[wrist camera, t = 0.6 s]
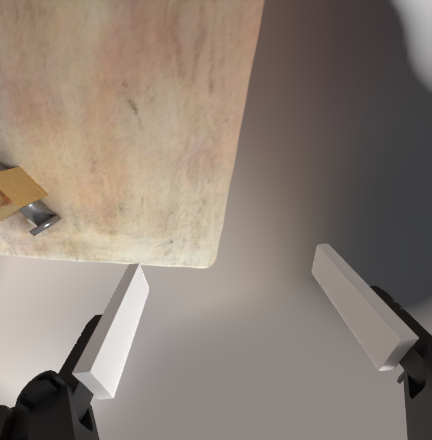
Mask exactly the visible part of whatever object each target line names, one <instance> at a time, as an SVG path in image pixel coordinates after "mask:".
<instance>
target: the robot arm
mask: <svg viewBox="0 0 432 440" xmlns="http://www.w3.org/2000/svg"><path fill="white" fill-rule="evenodd" d="M311 273H312V274H313V275H314V277H315V278H316V279H317V281H318V283H319V284H320V286H321V287H322V289H323V290H324V291H325V293H326V294H327V296H328V297H329V299H330V300H331V302H332V303H333V305H334V306H335V308H336V309H337V310H338V312H339V313H340V315H341V316H342V318H343V319H344V321H345V322H346V324H347V325H348V327H349V328H350V329H351V331H352V332H353V334H354V335H355V337H356V338H357V340H358V341H359V343H360V344H361V346H362V347H363V348H364V350H365V351H366V353H367V354H368V356H369V357H370V359H371V360H372V362H373V363H374V364H375V366H376V368H377V369H378V370H379V371H383V370H392V369H395V368H396V367H397V365H398V364H399V363H400V365H401V366H402V367H403V368H404V372H403V373H402V374H401V375H400V376H399V378H398V380H397V382H398V383H401V382H402V381H403V380H404V392H405V408H406V422H407V436H408V440H432V336H431V335H430V334H429V333H428V332H427V331H426V330H425V329H424V328H423V327H422V326H421V325H420V324H419V323H418V322H417V321H416V320H415V319H414V318H413V317H412V316H411V315H410V314H408V312H406V311H405V310H403V308H402V307H401V306H400V305H399V304H398V303H396V301H395V300H394V299H393V298H392V297H391V296H390V295H389V294H388V293H387V292H385V291H384V290H382V289H380V288H379V287H377V286H368V285H367V284H366V283H365V282H364V281H363V280H362V279H361V278H360V276H359V275H357V274H356V272H355V271H353V269H352V268H351V267H350V266H349V265H348V264H347V263H346V262H345V261H344V260H343V259H342V258H341V257H340V256H339V255H338V254H337V253H336V252H335V251H334V250H333V249H332V248H331V247H330V246H329V245H328V244H320V245H317V248H316V253H315V257H314V262H313V267H312V271H311ZM148 292H149V287H148V284H147V281H146V279H145V276H144V274H143V271H142V269H141V266H140V263H138V264H129V266H128V268H127V269H126V271H125V273H124V275H123V277H122V279H121V281H120V283H119V285H118V287H117V288H116V291H115V292H114V294H113V296H112V298H111V300H110V302H109V304H108V306H107V308H106V310H105V311H104V313H103V315H95V316H94V317H93V318H92V319H91V320H90V321H89V322H88V323H87V325H86V326H85V328H84V330H83V332H82V333H81V336H80V337H79V339H78V340H77V343H76V344H75V346H74V347H73V349H72V351H71V352H70V354H69V356H68V358H67V359H66V361H65V363H64V365H63V366H62V368H61V370H60V372H59V373H58V374H57V373H56V372H55V371H52V370H49V371H45V372H43V373H41V374H39V375H37V376H36V377H35V378H33V379H32V380H31V381H30V382H29V383H28V384H27V385H26V386H25V387H24V388H23V390H22V391H21V393H20V395H19V396H18V398H17V401H16V405H15V407H12V408H9V407H7V406H5V405H0V440H99V436H98V432H97V427H96V423H95V419H94V414H93V410H92V406H91V405H90V402H91V399H92V397H93V395H94V396H95V397H96V398H97V399H98V400H99V399H109V398H114V395H115V392H116V389H117V386H118V383H119V380H120V377H121V374H122V371H123V368H124V365H125V362H126V359H127V356H128V353H129V350H130V347H131V344H132V340H133V337H134V334H135V332H136V329H137V326H138V322H139V319H140V316H141V313H142V310H143V307H144V304H145V301H146V298H147V295H148Z"/></svg>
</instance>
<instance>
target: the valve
mask: <svg viewBox="0 0 432 440" xmlns="http://www.w3.org/2000/svg"><path fill="white" fill-rule="evenodd" d="M47 195H48V194H47V193H46V192H45V191H44V190H43V189H42V188H41V187H40V186H39V185H38V184H37V183H36V182H35V181H34V180H33V179H32V178H31V177H30V176H29V175H28V174H27V173H26V172H25V171H24V170H23V169H21V168H20V167H15V168H11V169H6V168H5V167H4V166H3V165H2V164H1V163H0V221H2V220H4V219H6V218H8V217H10V216H12V215H14V214H16V213H19V212H21V213H23V214H24V215H25V216H26V217H27V218H28V220H27V221H28V222H29V223H30V224H32V225H33V226H34V227H35V228H34V229H32V230H31V231H29V232H30V233H31V234H32V235H33V236H35V235H37V234H38V233H40V232H41V233H42V234H43V235H47V234H49V233H50V232H49V231H48V230H47V228H48V227H50V226H51V225H53V224H54V223H56V222H57V221H59V220H60V219H62V218H61V217H60V216H59V215H58V214H57V215H55V214H54V213H53V212H52V211H51V210H50V209H49V208H48V207H47V206H46V205H45V204H44V203H43V202H42V201H40V200H41V199H43V198H44V197H46V196H47Z"/></svg>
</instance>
